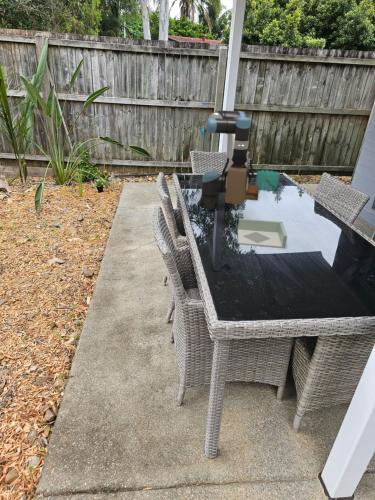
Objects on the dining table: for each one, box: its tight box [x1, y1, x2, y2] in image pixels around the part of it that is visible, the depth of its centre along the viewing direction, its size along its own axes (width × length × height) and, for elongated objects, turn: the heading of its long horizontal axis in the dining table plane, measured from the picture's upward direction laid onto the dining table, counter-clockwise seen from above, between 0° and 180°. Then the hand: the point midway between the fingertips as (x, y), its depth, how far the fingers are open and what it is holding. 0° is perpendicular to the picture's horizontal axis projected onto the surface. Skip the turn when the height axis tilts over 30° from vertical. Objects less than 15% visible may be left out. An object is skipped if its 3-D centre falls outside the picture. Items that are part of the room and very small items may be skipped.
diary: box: [245, 184, 259, 201], centre depth 247 cm, size 23×19×6 cm
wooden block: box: [224, 165, 249, 206], centre depth 184 cm, size 10×10×20 cm
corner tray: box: [237, 218, 288, 249], centre depth 175 cm, size 24×20×7 cm
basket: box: [255, 169, 281, 192], centre depth 265 cm, size 19×18×13 cm
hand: (236, 188), depth 185 cm, fingers closed on wooden block, 11 cm apart
